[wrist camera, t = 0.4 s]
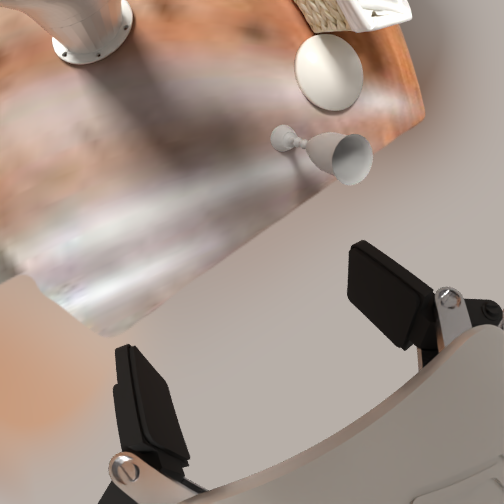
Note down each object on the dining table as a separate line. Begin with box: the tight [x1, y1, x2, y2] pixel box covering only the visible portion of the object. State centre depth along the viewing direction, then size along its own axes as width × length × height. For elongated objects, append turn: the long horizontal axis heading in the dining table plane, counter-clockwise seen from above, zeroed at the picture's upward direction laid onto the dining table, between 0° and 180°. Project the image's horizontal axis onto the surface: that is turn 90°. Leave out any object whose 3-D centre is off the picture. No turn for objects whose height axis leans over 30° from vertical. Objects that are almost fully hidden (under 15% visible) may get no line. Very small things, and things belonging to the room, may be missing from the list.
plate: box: [294, 34, 363, 111], centre depth 41 cm, size 16×16×1 cm
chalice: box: [271, 125, 373, 185], centre depth 38 cm, size 7×7×18 cm
